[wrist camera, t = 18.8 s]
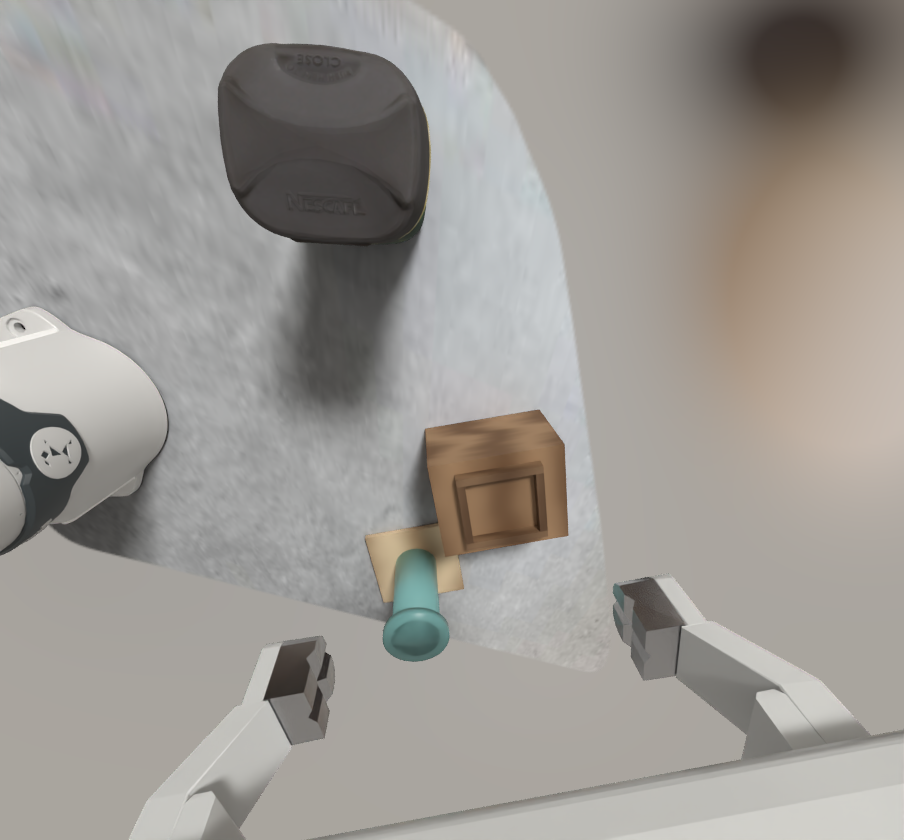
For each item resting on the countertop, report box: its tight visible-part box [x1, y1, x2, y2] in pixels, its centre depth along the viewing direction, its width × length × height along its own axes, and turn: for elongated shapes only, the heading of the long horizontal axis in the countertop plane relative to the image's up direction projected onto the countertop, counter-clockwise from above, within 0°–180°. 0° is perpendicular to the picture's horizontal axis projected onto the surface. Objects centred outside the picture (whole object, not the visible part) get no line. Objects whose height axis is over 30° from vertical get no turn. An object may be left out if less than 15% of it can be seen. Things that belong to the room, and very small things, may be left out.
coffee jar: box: [218, 43, 431, 246], centre depth 26 cm, size 10×8×19 cm
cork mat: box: [365, 523, 464, 603], centre depth 50 cm, size 10×10×1 cm
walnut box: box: [425, 410, 568, 557], centre depth 41 cm, size 12×10×9 cm
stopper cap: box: [383, 549, 449, 662], centre depth 45 cm, size 6×6×10 cm
